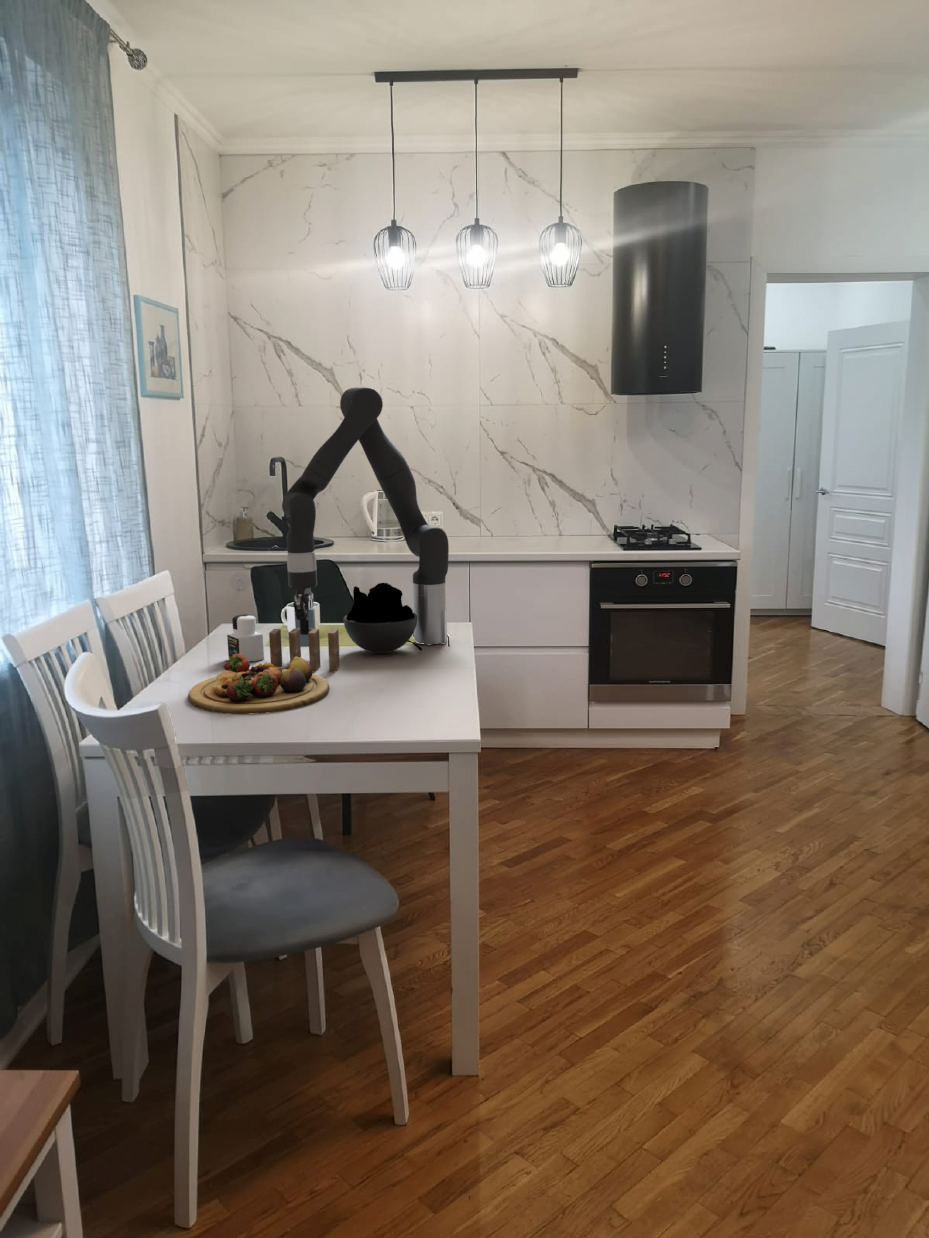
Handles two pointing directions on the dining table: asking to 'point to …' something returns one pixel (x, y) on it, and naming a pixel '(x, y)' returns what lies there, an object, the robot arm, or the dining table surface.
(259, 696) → the wooden plate with food
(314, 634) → the tile
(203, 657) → the dining table surface
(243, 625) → the medicine bottle
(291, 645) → the tile
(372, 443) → the robot arm
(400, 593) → the bowl of black rocks
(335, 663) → the tile
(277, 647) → the brown wooden block
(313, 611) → the tile
